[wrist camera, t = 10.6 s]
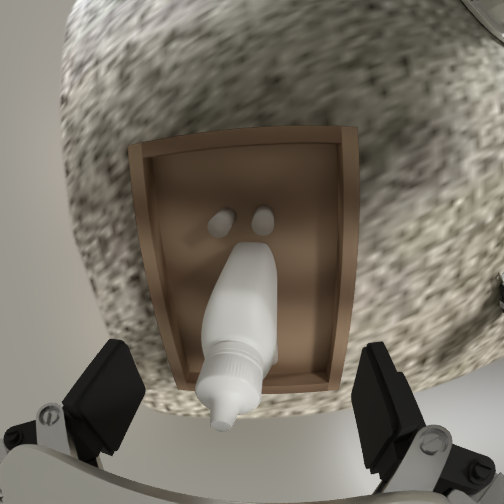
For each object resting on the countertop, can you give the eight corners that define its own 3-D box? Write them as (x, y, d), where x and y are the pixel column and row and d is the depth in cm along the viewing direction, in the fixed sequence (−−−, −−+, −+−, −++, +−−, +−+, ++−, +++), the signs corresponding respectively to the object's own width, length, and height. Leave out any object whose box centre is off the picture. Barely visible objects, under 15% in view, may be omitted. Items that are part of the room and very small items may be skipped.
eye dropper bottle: (207, 294, 19) (141, 429, 8) (244, 228, 18) (190, 345, 6) (259, 322, 20) (240, 468, 8) (301, 261, 18) (330, 405, 7)
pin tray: (147, 146, 18) (115, 145, 13) (344, 131, 16) (365, 124, 12) (186, 368, 24) (173, 401, 20) (333, 367, 23) (341, 402, 19)
